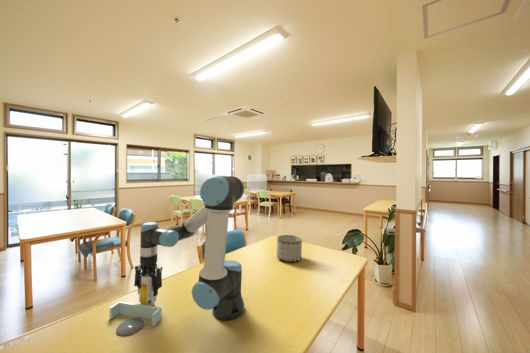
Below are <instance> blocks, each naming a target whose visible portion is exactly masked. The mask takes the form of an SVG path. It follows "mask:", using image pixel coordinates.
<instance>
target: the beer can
mask: <svg viewBox="0 0 530 353" xmlns="http://www.w3.org/2000/svg"><path fill="white" fill-rule="evenodd" d="M152 290H153V287H152V278H151V277H149V274H145V275H144V276H142V277H141V302H140V304H141V305H148V306H153V305H154V304H155V302H154V303H153V304H151V291H152Z"/></svg>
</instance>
